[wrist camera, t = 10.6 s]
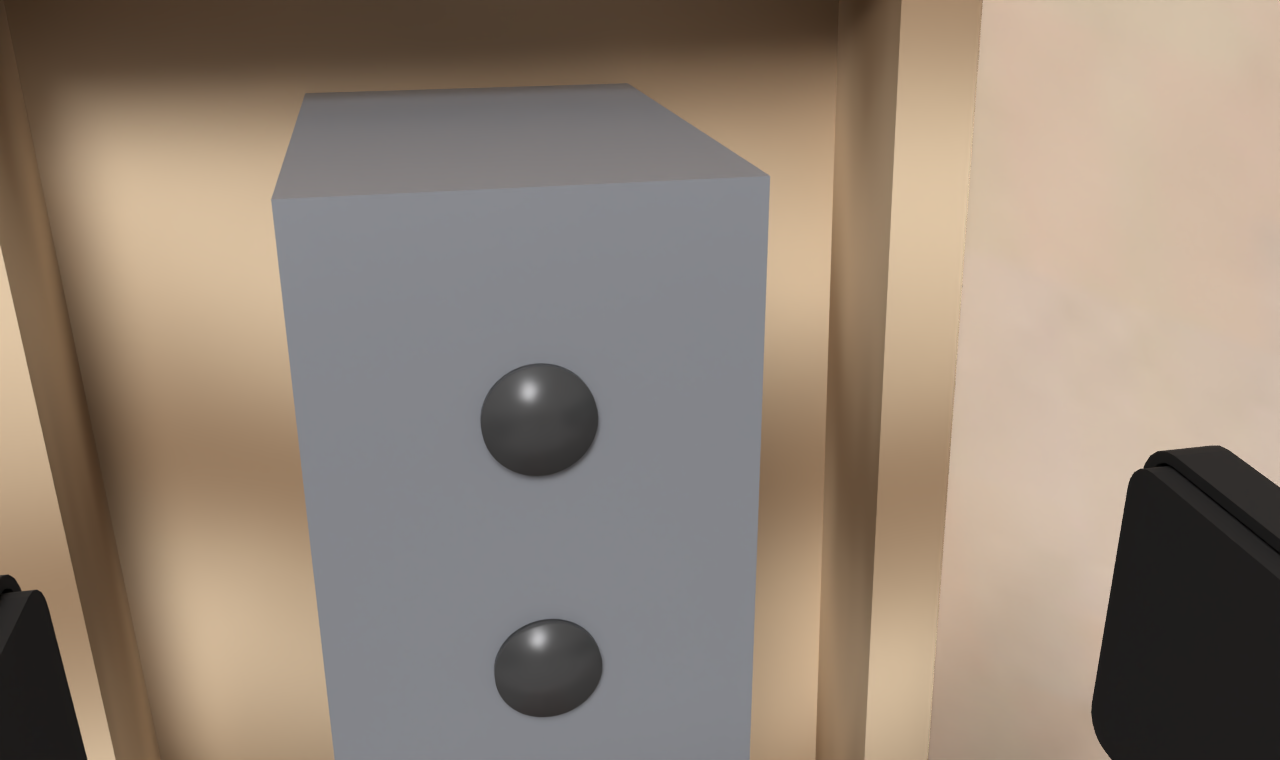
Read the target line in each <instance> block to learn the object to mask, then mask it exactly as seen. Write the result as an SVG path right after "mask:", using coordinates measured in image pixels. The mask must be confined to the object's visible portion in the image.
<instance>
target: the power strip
mask: <svg viewBox="0 0 1280 760" xmlns="http://www.w3.org/2000/svg"><path fill="white" fill-rule="evenodd" d="M769 197H770V175H768V174H766V173H765V172H763V171H762V170H760V169H759V168H757V167H756V166H754V165H753V164H751V163H750V162H748V161H746V160H745V159H743V158H742V157H740V156H739V155H737V154H736V153H734V152H733V151H731V150H730V149H728V148H726V147H725V146H723V145H722V144H720V143H719V142H717V141H716V140H714V139H713V138H711V137H710V136H708V135H706V134H705V133H703V132H702V131H700V130H699V129H697V128H696V127H694V126H693V125H691V124H690V123H688V122H686V121H685V120H683V119H682V118H680V117H679V116H677V115H676V114H674V113H673V112H671V111H670V110H668V109H666V108H665V107H663V106H662V105H660V104H659V103H657V102H656V101H654V100H653V99H651V98H650V97H648V96H647V95H645V94H643V93H642V92H640V91H639V90H637V89H636V88H634V87H633V86H631V85H630V84H628V83H618V84H585V85H553V86H521V87H489V88H457V89H425V90H392V91H360V92H328V93H305V96H304V99H303V102H302V105H301V108H300V111H299V114H298V117H297V121H296V124H295V127H294V130H293V133H292V136H291V139H290V142H289V145H288V148H287V152H286V155H285V158H284V161H283V164H282V167H281V170H280V173H279V176H278V179H277V183H276V186H275V189H274V192H273V195H272V198H271V203H272V212H273V221H274V230H275V239H276V247H277V256H278V265H279V274H280V283H281V292H282V300H283V309H284V318H285V327H286V336H287V345H288V353H289V362H290V371H291V380H292V389H293V397H294V406H295V415H296V424H297V433H298V442H299V450H300V459H301V468H302V477H303V486H304V494H305V503H306V512H307V521H308V530H309V539H310V547H311V556H312V565H313V574H314V583H315V591H316V600H317V609H318V618H319V627H320V636H321V644H322V653H323V662H324V671H325V680H326V688H327V697H328V706H329V715H330V724H331V733H332V741H333V750H334V759H335V760H750V734H751V706H752V677H753V649H754V621H755V593H756V564H757V536H758V508H759V480H760V451H761V423H762V395H763V367H764V338H765V310H766V282H767V254H768V225H769Z"/></svg>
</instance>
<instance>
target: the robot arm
mask: <svg viewBox="0 0 1280 760" xmlns="http://www.w3.org/2000/svg"><path fill="white" fill-rule="evenodd" d="M1091 713H1092V722H1093V726H1094V730H1095V733H1096V736H1097V738H1098V741H1099V743H1100V744H1101V746H1102V747H1103V749H1104V750H1105V752H1106V753H1107V754H1108V756H1109V757H1110V758H1111V759H1112V760H1280V487H1278V486H1277V485H1276V484H1274V483H1273V482H1272V481H1270V480H1269V479H1267V478H1266V477H1265V476H1263V475H1262V474H1261V473H1259V472H1258V471H1257V470H1255V469H1254V468H1252V467H1251V466H1250V465H1248V464H1247V463H1246V462H1244V461H1243V460H1242V459H1240V458H1239V457H1237V456H1236V455H1235V454H1233V453H1232V452H1231V451H1229V450H1227V449H1225V448H1223V447H1221V446H1203V447H1194V448H1185V449H1175V450H1166V451H1157V452H1156V453H1154V454H1153V455H1151V456H1150V457H1149V459H1148V460H1147V462H1146V463H1145V465H1144V469H1139V470H1137V471H1136V472H1134V474H1133V475H1132V477H1131V478H1130V481H1129V485H1128V489H1127V495H1126V501H1125V507H1124V513H1123V519H1122V525H1121V531H1120V537H1119V543H1118V549H1117V555H1116V562H1115V568H1114V574H1113V580H1112V586H1111V592H1110V598H1109V604H1108V610H1107V616H1106V622H1105V628H1104V634H1103V640H1102V646H1101V652H1100V658H1099V664H1098V670H1097V676H1096V682H1095V688H1094V694H1093V700H1092V711H1091ZM0 760H88V759H87V755H86V752H85V748H84V744H83V740H82V736H81V732H80V728H79V724H78V720H77V717H76V713H75V709H74V705H73V701H72V697H71V693H70V689H69V685H68V682H67V678H66V674H65V670H64V666H63V662H62V658H61V654H60V650H59V647H58V643H57V639H56V635H55V631H54V627H53V623H52V619H51V615H50V611H49V608H48V605H47V602H46V599H45V597H44V595H43V594H42V592H40V591H39V590H28V591H21V588H20V586H19V584H18V583H17V581H16V580H15V578H14V577H12V576H10V575H9V574H7V575H0Z"/></svg>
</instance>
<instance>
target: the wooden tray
mask: <svg viewBox="0 0 1280 760" xmlns="http://www.w3.org/2000/svg"><path fill="white" fill-rule="evenodd" d="M982 1H983V0H0V575H7V574H9V575H10V576H12V577H14V578H15V580H16V581H17V583H18V584H19V586H20V588H21V591H28V590H39V591H40V592H42V594H43V595H44V597H45V599H46V602H47V605H48V608H49V611H50V615H51V619H52V623H53V627H54V631H55V635H56V639H57V643H58V647H59V650H60V654H61V658H62V662H63V666H64V670H65V674H66V678H67V682H68V685H69V689H70V693H71V697H72V701H73V705H74V709H75V713H76V717H77V720H78V724H79V728H80V732H81V736H82V740H83V744H84V748H85V752H86V755H87V759H88V760H335V759H334V750H333V741H332V733H331V724H330V715H329V706H328V697H327V688H326V680H325V671H324V662H323V653H322V644H321V636H320V627H319V618H318V609H317V600H316V591H315V583H314V574H313V565H312V556H311V547H310V539H309V530H308V521H307V512H306V503H305V494H304V486H303V477H302V468H301V459H300V450H299V442H298V433H297V424H296V415H295V406H294V397H293V389H292V380H291V371H290V362H289V353H288V345H287V336H286V327H285V318H284V309H283V300H282V292H281V283H280V274H279V265H278V256H277V247H276V239H275V230H274V221H273V212H272V203H271V198H272V195H273V192H274V189H275V186H276V183H277V179H278V176H279V173H280V170H281V167H282V164H283V161H284V158H285V155H286V152H287V148H288V145H289V142H290V139H291V136H292V133H293V130H294V127H295V124H296V121H297V117H298V114H299V111H300V108H301V105H302V102H303V99H304V96H305V93H328V92H360V91H392V90H425V89H457V88H489V87H521V86H553V85H585V84H618V83H628V84H630V85H631V86H633V87H634V88H636V89H637V90H639V91H640V92H642V93H643V94H645V95H647V96H648V97H650V98H651V99H653V100H654V101H656V102H657V103H659V104H660V105H662V106H663V107H665V108H666V109H668V110H670V111H671V112H673V113H674V114H676V115H677V116H679V117H680V118H682V119H683V120H685V121H686V122H688V123H690V124H691V125H693V126H694V127H696V128H697V129H699V130H700V131H702V132H703V133H705V134H706V135H708V136H710V137H711V138H713V139H714V140H716V141H717V142H719V143H720V144H722V145H723V146H725V147H726V148H728V149H730V150H731V151H733V152H734V153H736V154H737V155H739V156H740V157H742V158H743V159H745V160H746V161H748V162H750V163H751V164H753V165H754V166H756V167H757V168H759V169H760V170H762V171H763V172H765V173H766V174H768V175H770V197H769V225H768V254H767V282H766V310H765V338H764V367H763V395H762V423H761V451H760V480H759V508H758V536H757V564H756V593H755V621H754V649H753V677H752V706H751V734H750V760H928V750H929V736H930V723H931V709H932V695H933V681H934V667H935V653H936V639H937V625H938V612H939V598H940V584H941V570H942V556H943V542H944V528H945V515H946V501H947V487H948V473H949V459H950V445H951V431H952V417H953V404H954V390H955V376H956V362H957V348H958V334H959V320H960V306H961V293H962V279H963V265H964V251H965V237H966V223H967V209H968V195H969V182H970V168H971V154H972V140H973V126H974V112H975V98H976V84H977V71H978V57H979V43H980V29H981V15H982Z"/></svg>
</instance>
